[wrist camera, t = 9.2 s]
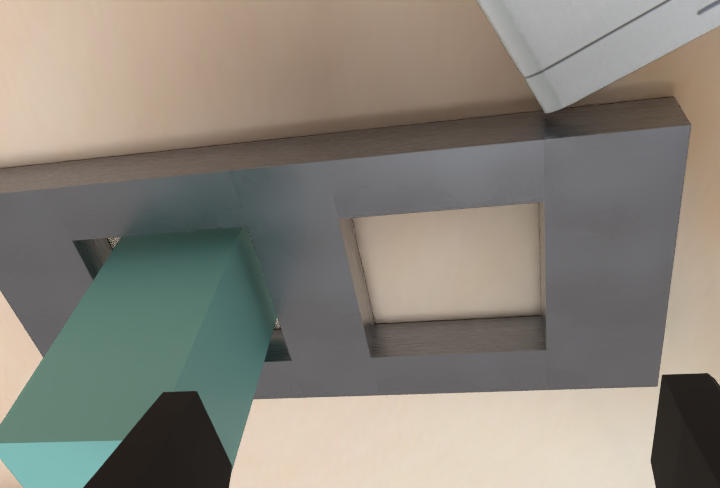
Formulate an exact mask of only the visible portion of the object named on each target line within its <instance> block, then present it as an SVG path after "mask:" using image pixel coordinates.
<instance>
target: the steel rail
mask: <svg viewBox="0 0 720 488" xmlns="http://www.w3.org/2000/svg"><path fill="white" fill-rule="evenodd" d="M690 129H691V124H690V122H689V121H688V119H687V117H686V116H685V114H684V112H683V111H682V109H681V107H680V106H679V104H678V102H677V101H676V99H675V97H667V98H658V99H648V100H639V101H630V102H620V103H611V104H602V105H592V106H583V107H574V108H564V109H560V110H557V111H554V112H551V113H544V111H536V112H527V113H517V114H508V115H499V116H489V117H480V118H471V119H461V120H452V121H443V122H433V123H424V124H415V125H405V126H396V127H387V128H377V129H368V130H358V131H349V132H340V133H330V134H321V135H312V136H302V137H293V138H284V139H274V140H265V141H256V142H246V143H237V144H227V145H218V146H209V147H199V148H190V149H181V150H171V151H162V152H153V153H143V154H134V155H125V156H115V157H106V158H97V159H87V160H78V161H68V162H59V163H50V164H40V165H31V166H22V167H12V168H3V169H0V291H1V292H2V294H3V295H4V297H5V298H6V300H7V302H8V303H9V305H10V306H11V308H12V309H13V311H14V312H15V314H16V316H17V317H18V319H19V320H20V322H21V323H22V325H23V326H24V328H25V330H26V331H27V333H28V334H29V336H30V337H31V339H32V341H33V342H34V344H35V345H36V347H37V348H38V350H39V351H40V353H41V355H42V356H43V358H44V356H45V355H46V353H47V352H48V350H49V349H50V347H51V345H52V344H53V342H54V341H55V339H56V338H57V336H58V335H59V333H60V331H61V330H62V328H63V327H64V325H65V324H66V322H67V321H68V319H69V317H70V316H71V314H72V313H73V311H74V310H75V308H76V307H77V305H78V304H79V302H80V300H81V299H82V297H83V296H84V294H85V293H86V291H87V290H88V288H89V286H90V285H91V283H92V282H93V280H94V279H95V277H96V276H97V274H98V273H99V271H100V269H101V268H102V266H103V265H104V263H105V262H106V260H107V259H108V257H109V255H110V254H111V252H112V251H113V250H112V248H111V246H110V244H109V242H108V240H107V238H111V237H124V236H136V235H148V234H160V233H172V232H184V231H197V230H209V229H221V228H233V227H245V226H247V228H248V231H249V234H250V237H251V240H252V243H253V246H254V249H255V252H256V255H257V258H258V261H259V264H260V267H261V270H262V273H263V276H264V279H265V282H266V285H267V288H268V291H269V294H270V297H271V300H272V303H273V306H274V309H275V312H276V315H277V318H278V321H279V324H280V327H281V329H278V330H273V333H272V336H271V340H270V343H269V346H268V350H267V353H266V357H265V360H264V363H263V367H262V370H261V374H260V377H259V380H258V384H257V387H256V391H255V394H254V397H253V399H275V398H307V397H338V396H370V395H402V394H434V393H466V392H497V391H529V390H561V389H593V388H625V387H656V386H658V378H659V370H660V363H661V355H662V347H663V339H664V331H665V324H666V316H667V308H668V300H669V293H670V285H671V277H672V269H673V261H674V254H675V246H676V238H677V230H678V223H679V215H680V207H681V199H682V191H683V184H684V176H685V168H686V160H687V153H688V145H689V137H690ZM537 202H539V230H540V280H541V316H531V317H511V318H492V319H473V320H453V321H434V322H414V323H395V324H376V325H375V323H374V318H373V313H372V309H371V304H370V300H369V295H368V291H367V286H366V281H365V277H364V272H363V268H362V263H361V259H360V254H359V250H358V245H357V240H356V236H355V231H354V227H353V222H352V218H355V217H367V216H379V215H391V214H403V213H415V212H427V211H440V210H452V209H464V208H476V207H488V206H500V205H513V204H525V203H537Z"/></svg>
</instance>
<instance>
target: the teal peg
mask: <svg viewBox="0 0 720 488" xmlns="http://www.w3.org/2000/svg"><path fill="white" fill-rule="evenodd" d="M276 319H277V315H276V312H275V309H274V306H273V303H272V300H271V297H270V294H269V291H268V288H267V285H266V282H265V279H264V276H263V273H262V270H261V267H260V264H259V261H258V259H257V256H256V253H255V250H254V247H253V244H252V241H251V238H250V235H249V232H248V229H247V226H245V227H233V228H221V229H209V230H197V231H184V232H172V233H160V234H148V235H136V236H124V237H121V238H120V240H119V242H118V243H117V245H116V246H115V248H114V249H113V251H112V252H111V254H110V255H109V257H108V259H107V260H106V262H105V263H104V265H103V266H102V268H101V269H100V271H99V273H98V274H97V276H96V277H95V279H94V280H93V282H92V283H91V285H90V286H89V288H88V290H87V291H86V293H85V294H84V296H83V297H82V299H81V300H80V302H79V304H78V305H77V307H76V308H75V310H74V311H73V313H72V314H71V316H70V317H69V319H68V321H67V322H66V324H65V325H64V327H63V328H62V330H61V331H60V333H59V335H58V336H57V338H56V339H55V341H54V342H53V344H52V345H51V347H50V349H49V350H48V352H47V353H46V355H45V356H44V358H43V359H42V361H41V362H40V364H39V366H38V367H37V369H36V370H35V372H34V373H33V375H32V376H31V378H30V380H29V381H28V383H27V384H26V386H25V387H24V389H23V390H22V392H21V393H20V395H19V397H18V398H17V400H16V401H15V403H14V404H13V406H12V407H11V409H10V411H9V412H8V414H7V415H6V417H5V418H4V420H3V421H2V423H1V424H0V459H1V460H2V462H3V463H4V464H5V465H6V467H7V468H8V469H9V470H10V472H11V473H12V474H13V475H14V477H15V478H16V479H17V480H18V482H19V483H20V484H21V485H22V486H23V488H83V487H84V486H85V485H86V483H87V482H88V481H89V480H90V479H91V478H92V476H93V475H94V474H95V473H96V472H97V471H98V469H99V468H100V467H101V466H102V465H103V463H104V462H105V461H106V460H107V459H108V457H109V456H110V455H111V454H112V453H113V451H114V450H115V449H116V448H117V447H118V445H119V444H120V443H121V442H122V440H123V439H124V438H125V437H126V436H127V434H128V433H129V432H130V431H131V430H132V428H133V427H134V426H135V425H136V423H137V422H138V421H139V420H140V419H141V417H142V416H143V415H144V414H145V413H146V411H147V410H148V409H149V408H150V407H151V406H152V404H153V403H154V402H155V401H156V400H157V399H158V397H159V396H160V395H161V394H162V393H163V392H179V391H197V392H198V394H199V396H200V398H201V400H202V403H203V405H204V407H205V409H206V411H207V413H208V415H209V418H210V420H211V422H212V424H213V426H214V428H215V430H216V432H217V435H218V437H219V439H220V441H221V443H222V445H223V447H224V449H225V452H226V454H227V456H228V458H229V460H230V462H231V464H232V469H233V465H234V462H235V459H236V455H237V452H238V448H239V445H240V442H241V438H242V435H243V431H244V428H245V425H246V421H247V418H248V414H249V411H250V408H251V404H252V401H253V397H254V394H255V391H256V387H257V384H258V380H259V377H260V374H261V370H262V367H263V363H264V360H265V357H266V353H267V350H268V346H269V343H270V340H271V336H272V333H273V329H274V326H275V323H276ZM231 472H232V471H231Z"/></svg>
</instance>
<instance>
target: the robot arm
mask: <svg viewBox="0 0 720 488" xmlns="http://www.w3.org/2000/svg"><path fill="white" fill-rule="evenodd" d="M651 465H652V470H653V475H654V480H655V485H656V488H720V386H719V384H718V383H717V381H716V380H715V379H714V378H713V377H712V376H710V375H709V374H708V373H703V374H673V375H662V380H661V387H660V395H659V402H658V410H657V418H656V425H655V433H654V440H653V448H652V455H651ZM231 471H232V464H231V462H230V460H229V458H228V456H227V454H226V452H225V449H224V447H223V445H222V443H221V441H220V439H219V437H218V435H217V432H216V430H215V428H214V426H213V424H212V422H211V420H210V418H209V415H208V413H207V411H206V409H205V407H204V405H203V403H202V400H201V398H200V396H199V394H198V392H197V391H179V392H163V393H162V394H161V395H160V396H159V397H158V399H157V400H156V401H155V402H154V403H153V404H152V406H151V407H150V408H149V409H148V410H147V411H146V413H145V414H144V415H143V416H142V417H141V419H140V420H139V421H138V422H137V423H136V425H135V426H134V427H133V428H132V430H131V431H130V432H129V433H128V434H127V436H126V437H125V438H124V439H123V440H122V442H121V443H120V444H119V445H118V447H117V448H116V449H115V450H114V451H113V453H112V454H111V455H110V456H109V457H108V459H107V460H106V461H105V462H104V463H103V465H102V466H101V467H100V468H99V469H98V471H97V472H96V473H95V474H94V475H93V476H92V478H91V479H90V480H89V481H88V482H87V483H86V485H85V486H84V487H83V488H229V483H230V477H231Z"/></svg>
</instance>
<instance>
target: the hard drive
mask: <svg viewBox="0 0 720 488" xmlns="http://www.w3.org/2000/svg"><path fill="white" fill-rule="evenodd" d="M477 2H478V4H479V5H480V7H481V9H482V10H483V12H484V14H485V15H486V17H487V19H488V20H489V22H490V24H491V25H492V27H493V28H494V30H495V32H496V33H497V35H498V37H499V38H500V40H501V42H502V44H503V45H504V47H505V49H506V50H507V52H508V54H509V55H510V57H511V58H512V60H513V61H514V63H515V65H516V67H517V68H518V70H519V71H520V73H521V74H522V76H523V77H524V78H525V80H526V82H527V84H528V86H529V88H530V89H531V91H532V92H533V94H534V96H535V97H536V99H537V101H538V102H539V104H540V106H541V107H542V109H543V111H544V113H551V112H554V111H557V110H560V109H562V108H565V107H567V106H569V105H571V104H573V103H575V102H577V101H579V100H581V99H583V98H584V97H586V96H588V95H590V94H592V93H594V92H596V91H598V90H600V89H601V88H603V87H605V86H607V85H609V84H611V83H613V82H615V81H616V80H618V79H620V78H622V77H624V76H626V75H628V74H630V73H632V72H634V71H636V70H637V69H639V68H641V67H643V66H645V65H647V64H649V63H651V62H653V61H654V60H656V59H658V58H660V57H662V56H664V55H666V54H667V53H669V52H671V51H673V50H675V49H677V48H679V47H680V46H682V45H684V44H686V43H688V42H690V41H692V40H694V39H696V38H698V37H699V36H701V35H703V34H705V33H707V32H709V31H711V30H713V29H714V28H716V27H718V26H720V0H477Z"/></svg>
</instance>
